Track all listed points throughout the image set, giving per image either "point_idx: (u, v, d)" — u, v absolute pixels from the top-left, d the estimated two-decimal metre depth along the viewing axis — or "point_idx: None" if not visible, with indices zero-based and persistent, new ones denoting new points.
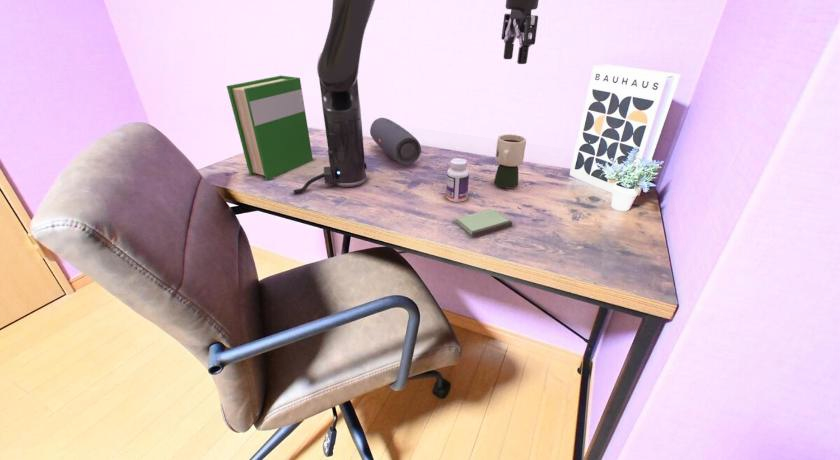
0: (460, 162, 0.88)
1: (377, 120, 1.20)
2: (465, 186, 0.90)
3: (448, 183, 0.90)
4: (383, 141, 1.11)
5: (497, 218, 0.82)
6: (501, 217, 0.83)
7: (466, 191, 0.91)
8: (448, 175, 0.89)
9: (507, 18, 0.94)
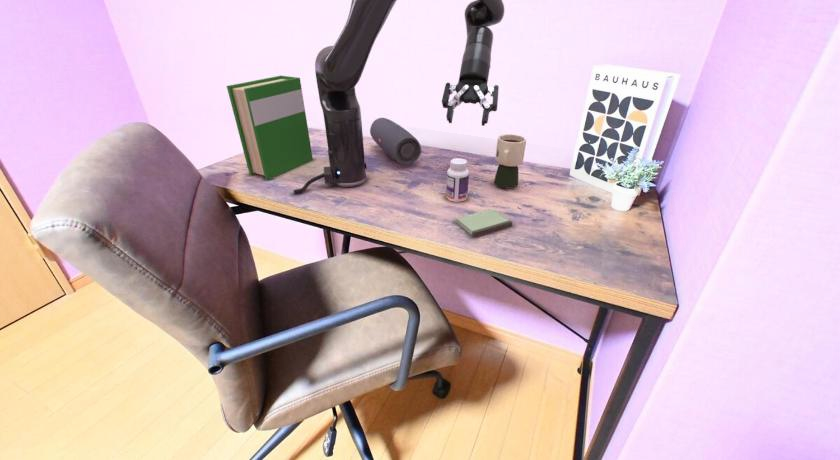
0: (460, 162, 0.88)
1: (377, 120, 1.20)
2: (465, 186, 0.90)
3: (448, 183, 0.90)
4: (383, 141, 1.11)
5: (497, 218, 0.82)
6: (501, 217, 0.83)
7: (466, 191, 0.91)
8: (448, 175, 0.89)
9: (450, 87, 0.97)
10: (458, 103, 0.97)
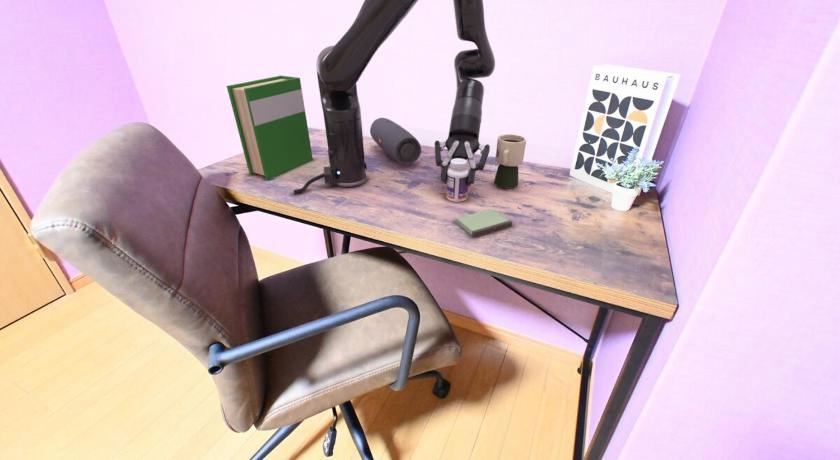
0: (460, 162, 0.88)
1: (377, 120, 1.20)
2: (465, 186, 0.90)
3: (448, 183, 0.90)
4: (383, 141, 1.11)
5: (497, 218, 0.82)
6: (501, 217, 0.83)
7: (466, 191, 0.91)
8: (448, 175, 0.89)
9: (439, 144, 0.92)
10: None
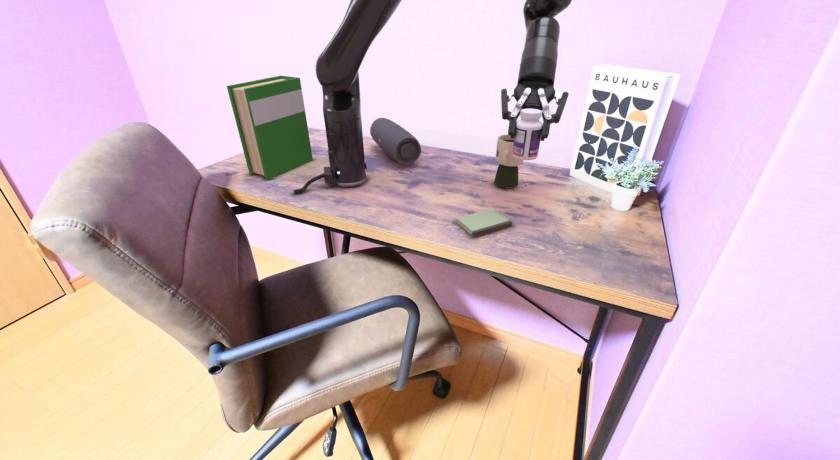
0: (533, 111, 0.74)
1: (377, 120, 1.20)
2: (537, 141, 0.76)
3: (517, 138, 0.77)
4: (383, 141, 1.11)
5: (497, 218, 0.82)
6: (501, 217, 0.83)
7: (538, 148, 0.77)
8: (518, 128, 0.76)
9: (507, 93, 0.78)
10: (520, 112, 0.78)
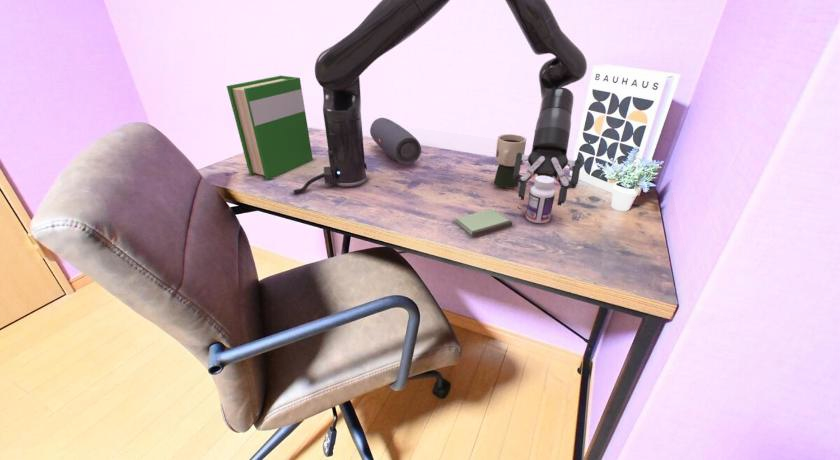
0: (547, 180, 0.79)
1: (377, 120, 1.20)
2: (550, 207, 0.81)
3: (530, 203, 0.81)
4: (383, 141, 1.11)
5: (497, 218, 0.82)
6: (501, 217, 0.83)
7: (550, 212, 0.82)
8: (531, 194, 0.81)
9: (521, 157, 0.83)
10: (531, 176, 0.83)
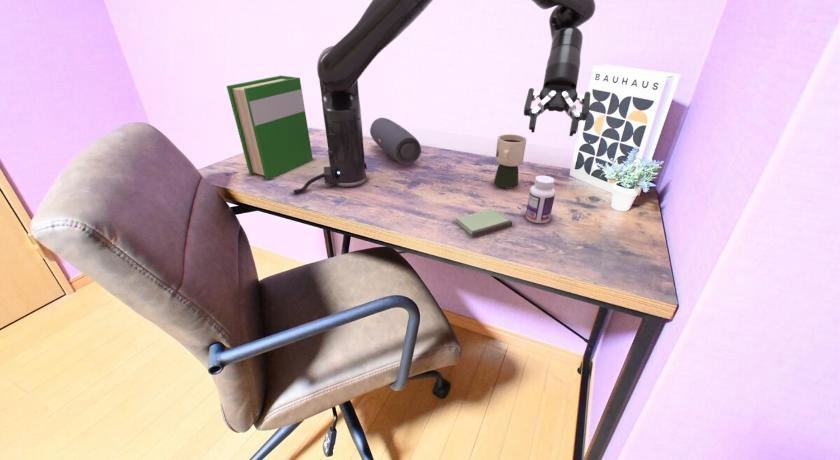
0: (547, 180, 0.79)
1: (377, 120, 1.20)
2: (550, 207, 0.81)
3: (530, 202, 0.81)
4: (383, 141, 1.11)
5: (497, 218, 0.82)
6: (501, 217, 0.83)
7: (550, 212, 0.82)
8: (532, 194, 0.81)
9: (533, 93, 0.88)
10: (542, 111, 0.88)
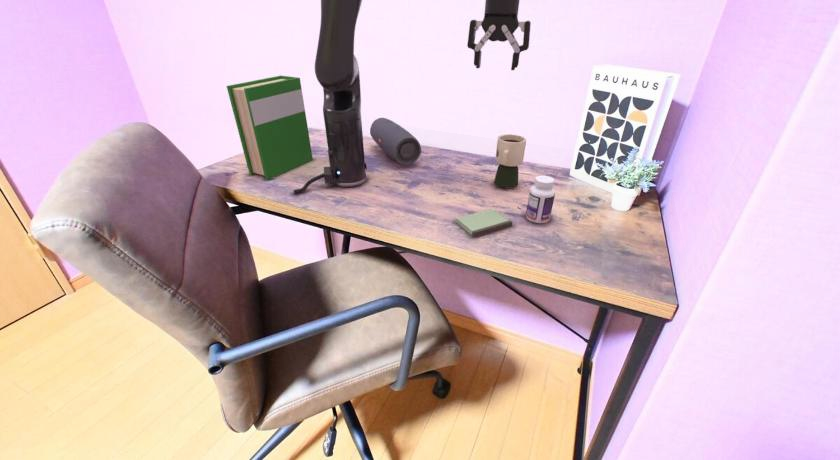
0: (547, 180, 0.79)
1: (377, 120, 1.20)
2: (550, 207, 0.81)
3: (530, 202, 0.81)
4: (383, 141, 1.11)
5: (497, 218, 0.82)
6: (501, 217, 0.83)
7: (550, 212, 0.82)
8: (532, 194, 0.81)
9: (475, 25, 0.87)
10: None
